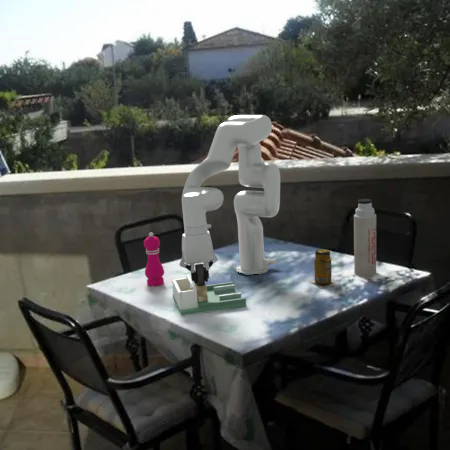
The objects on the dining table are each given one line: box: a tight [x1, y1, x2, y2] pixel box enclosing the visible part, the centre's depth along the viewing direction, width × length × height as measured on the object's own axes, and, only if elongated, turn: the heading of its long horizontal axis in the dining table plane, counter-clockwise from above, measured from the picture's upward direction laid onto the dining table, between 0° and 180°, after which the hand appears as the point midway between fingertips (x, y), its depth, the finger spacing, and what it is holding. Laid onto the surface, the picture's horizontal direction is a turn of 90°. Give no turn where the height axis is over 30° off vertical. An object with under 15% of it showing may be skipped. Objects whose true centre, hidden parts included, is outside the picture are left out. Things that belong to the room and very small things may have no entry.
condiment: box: [309, 248, 339, 289], centre depth 227 cm, size 7×8×12 cm
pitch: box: [172, 281, 247, 316], centre depth 217 cm, size 22×18×3 cm
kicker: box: [194, 263, 208, 302], centre depth 215 cm, size 3×6×12 cm, turn 13°
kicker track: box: [214, 284, 242, 301], centre depth 218 cm, size 8×10×2 cm
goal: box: [171, 274, 198, 310], centre depth 215 cm, size 6×14×7 cm, turn 13°
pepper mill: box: [143, 232, 165, 287], centre depth 236 cm, size 7×7×20 cm
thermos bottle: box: [353, 198, 377, 278], centre depth 232 cm, size 8×8×28 cm
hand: (200, 280), depth 215 cm, fingers closed on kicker, 3 cm apart
